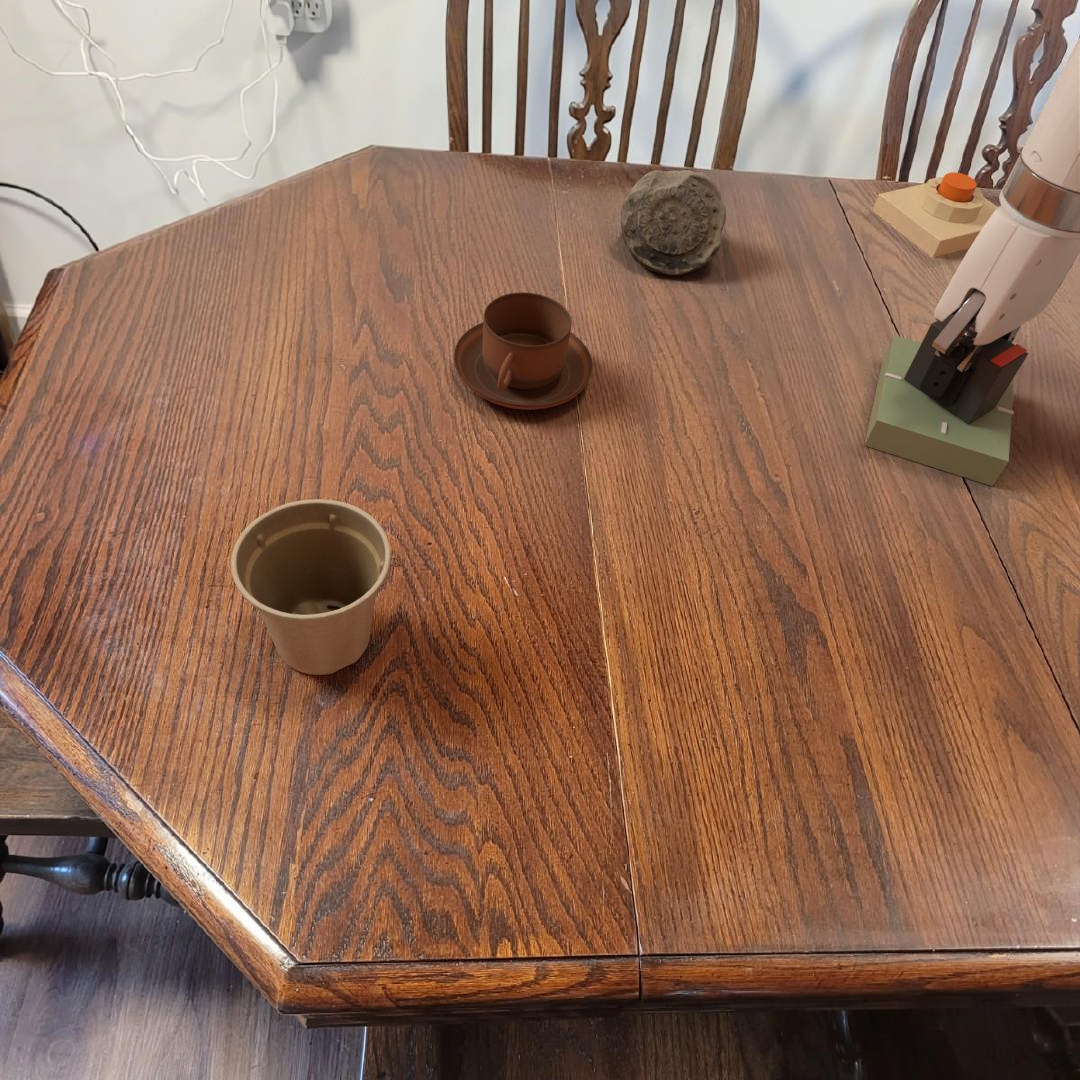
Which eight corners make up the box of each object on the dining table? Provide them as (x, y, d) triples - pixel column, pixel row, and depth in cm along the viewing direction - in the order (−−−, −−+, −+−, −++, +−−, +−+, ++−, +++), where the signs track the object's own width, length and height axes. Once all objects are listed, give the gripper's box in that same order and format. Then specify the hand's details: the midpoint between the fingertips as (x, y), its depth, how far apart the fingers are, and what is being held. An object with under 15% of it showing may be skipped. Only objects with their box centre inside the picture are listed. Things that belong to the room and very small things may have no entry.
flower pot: (247, 590, 65) (228, 506, 58) (384, 573, 67) (380, 490, 61) (253, 707, 59) (232, 628, 53) (402, 685, 61) (401, 607, 55)
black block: (902, 379, 83) (932, 321, 78) (929, 364, 85) (960, 306, 80) (968, 425, 80) (1003, 367, 75) (995, 408, 81) (1030, 351, 77)
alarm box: (946, 194, 112) (961, 162, 109) (1008, 238, 107) (1025, 206, 104) (871, 211, 108) (884, 178, 105) (932, 258, 102) (948, 225, 99)
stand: (881, 359, 89) (894, 333, 87) (1000, 395, 88) (1016, 369, 85) (862, 445, 81) (876, 418, 79) (993, 486, 79) (1011, 460, 77)
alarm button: (953, 184, 106) (960, 169, 105) (976, 200, 104) (984, 185, 103) (930, 189, 105) (937, 175, 103) (953, 206, 103) (960, 191, 101)
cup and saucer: (592, 427, 79) (602, 370, 75) (449, 417, 78) (451, 358, 74) (586, 338, 87) (596, 281, 82) (457, 328, 86) (459, 270, 81)
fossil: (635, 283, 92) (632, 174, 89) (604, 273, 101) (599, 173, 97) (736, 271, 95) (737, 164, 91) (697, 262, 103) (696, 164, 99)
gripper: (1076, 143, 73) (971, 334, 87) (950, 197, 66) (857, 396, 80) (1164, 188, 70) (1041, 379, 84) (1042, 250, 62) (928, 449, 76)
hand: (952, 386), depth 81 cm, fingers closed on black block, 4 cm apart
